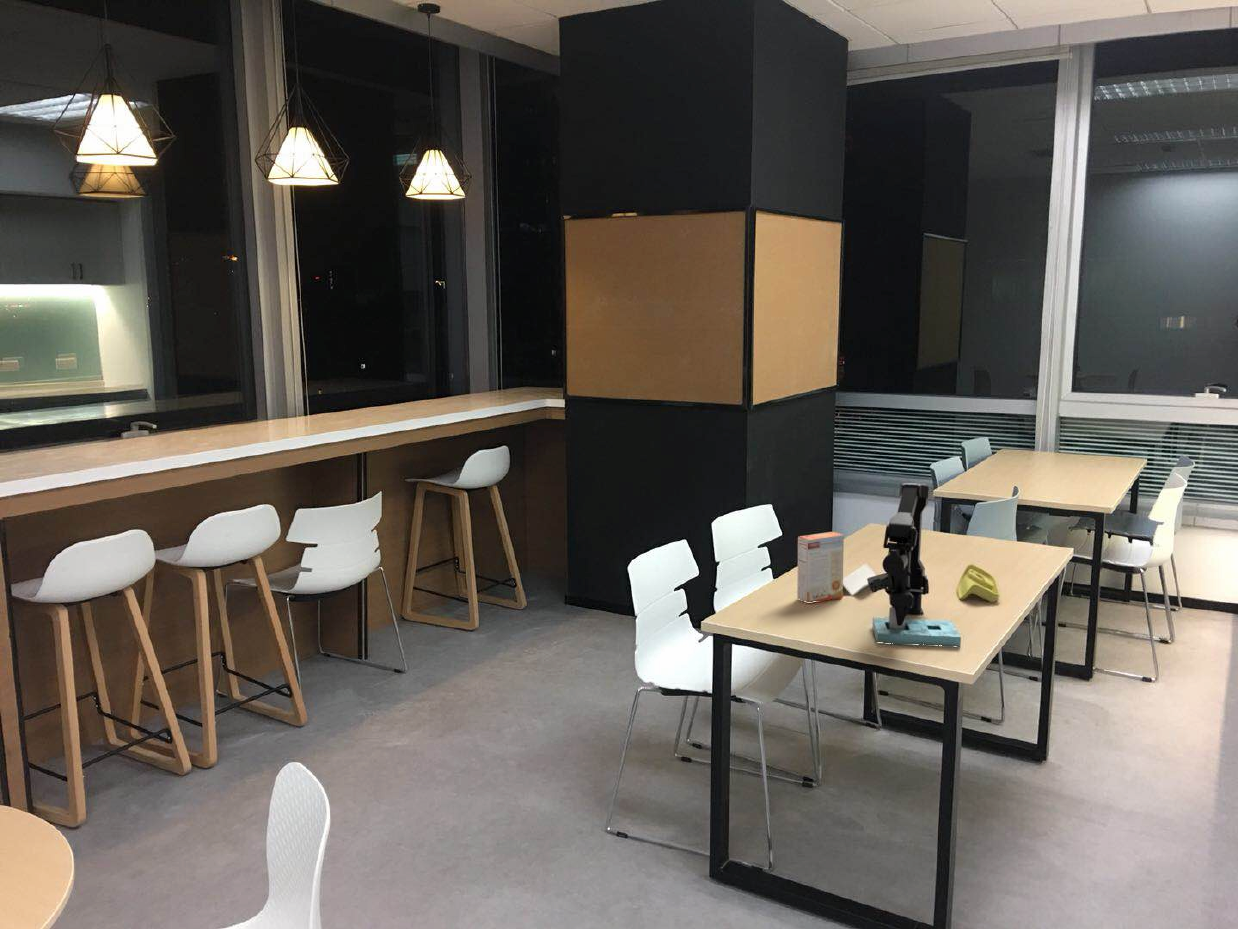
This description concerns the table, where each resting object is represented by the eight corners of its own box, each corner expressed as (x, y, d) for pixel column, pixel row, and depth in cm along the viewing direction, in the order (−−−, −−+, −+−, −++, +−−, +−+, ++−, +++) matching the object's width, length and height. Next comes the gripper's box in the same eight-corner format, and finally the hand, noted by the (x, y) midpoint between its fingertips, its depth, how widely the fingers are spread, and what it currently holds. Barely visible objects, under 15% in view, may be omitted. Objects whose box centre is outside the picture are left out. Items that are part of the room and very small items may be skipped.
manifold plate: (872, 627, 282) (872, 617, 281) (951, 630, 278) (952, 620, 278) (877, 643, 268) (877, 633, 267) (960, 647, 264) (960, 637, 264)
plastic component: (1000, 596, 302) (970, 581, 304) (988, 616, 305) (958, 601, 306) (994, 575, 321) (966, 561, 322) (983, 593, 323) (955, 579, 325)
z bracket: (839, 607, 315) (826, 591, 317) (865, 588, 336) (853, 574, 338) (866, 585, 309) (853, 570, 311) (890, 567, 330) (878, 553, 332)
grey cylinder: (887, 633, 276) (888, 606, 275) (903, 634, 276) (904, 607, 274) (889, 638, 272) (890, 611, 271) (905, 639, 271) (906, 611, 270)
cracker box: (831, 593, 315) (833, 530, 311) (843, 598, 309) (845, 534, 306) (795, 599, 309) (797, 535, 305) (807, 604, 303) (808, 539, 300)
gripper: (866, 557, 281) (864, 609, 283) (872, 574, 263) (870, 629, 265) (906, 558, 279) (904, 610, 282) (915, 576, 261) (913, 631, 263)
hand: (897, 620), depth 273 cm, fingers open, 9 cm apart
